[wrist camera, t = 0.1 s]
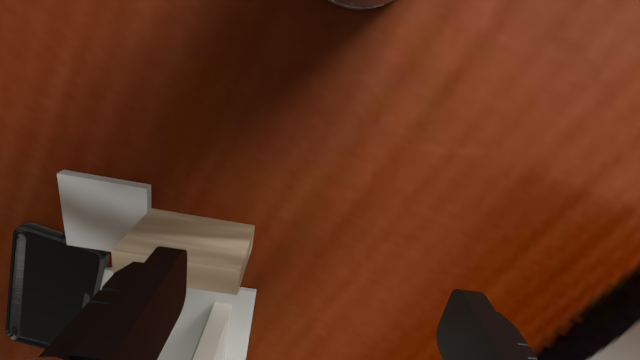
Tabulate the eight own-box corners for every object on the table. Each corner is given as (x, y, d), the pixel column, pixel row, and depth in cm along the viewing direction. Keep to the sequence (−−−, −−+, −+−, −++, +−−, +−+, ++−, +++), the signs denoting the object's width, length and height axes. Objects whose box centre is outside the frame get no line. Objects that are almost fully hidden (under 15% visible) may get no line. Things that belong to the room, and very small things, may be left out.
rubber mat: (64, 260, 30) (61, 263, 30) (256, 289, 32) (256, 292, 31) (80, 373, 37) (78, 377, 36) (240, 393, 38) (239, 396, 38)
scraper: (63, 169, 27) (-3, 204, 21) (258, 202, 28) (243, 244, 23) (73, 239, 29) (16, 286, 24) (249, 267, 31) (234, 317, 25)
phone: (4, 337, 33) (13, 223, 28) (14, 328, 34) (24, 216, 29) (84, 359, 35) (107, 254, 29) (90, 350, 36) (114, 246, 30)
